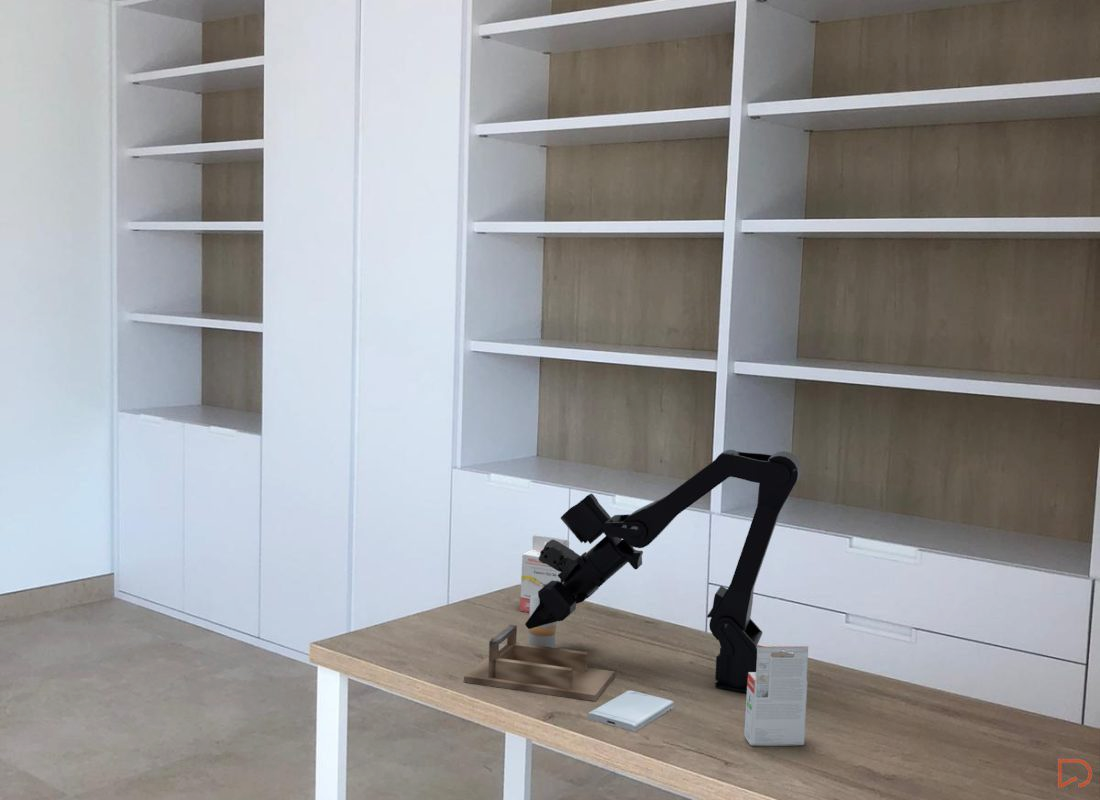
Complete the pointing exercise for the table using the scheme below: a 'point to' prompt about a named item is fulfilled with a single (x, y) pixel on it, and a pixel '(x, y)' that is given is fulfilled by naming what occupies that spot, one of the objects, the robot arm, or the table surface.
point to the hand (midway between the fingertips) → (535, 619)
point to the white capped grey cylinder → (541, 628)
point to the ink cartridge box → (536, 571)
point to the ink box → (777, 698)
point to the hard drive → (631, 710)
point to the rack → (539, 669)
